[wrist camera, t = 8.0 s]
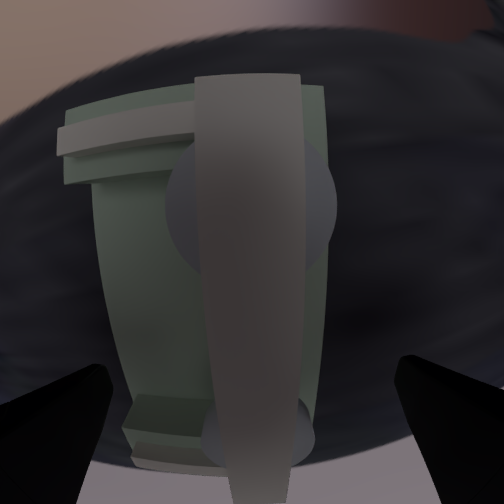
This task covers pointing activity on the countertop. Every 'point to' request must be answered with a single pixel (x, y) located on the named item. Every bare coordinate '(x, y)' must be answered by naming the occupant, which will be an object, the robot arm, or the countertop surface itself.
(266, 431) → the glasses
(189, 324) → the stand
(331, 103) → the countertop surface
